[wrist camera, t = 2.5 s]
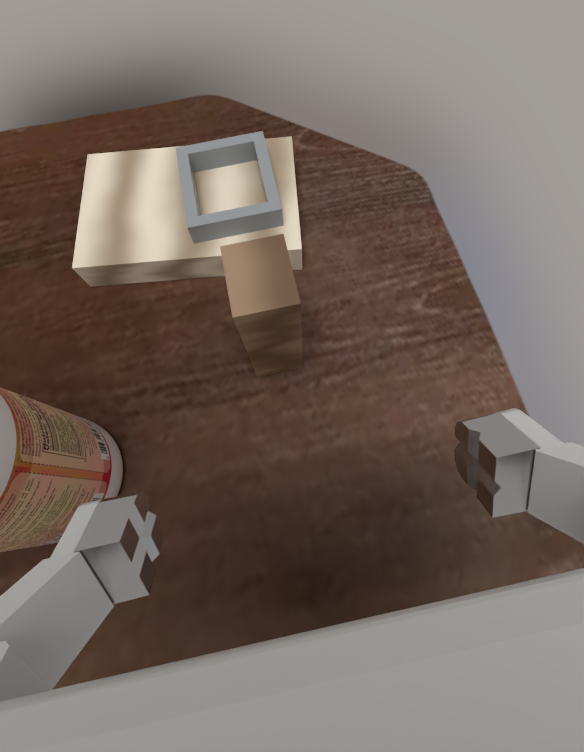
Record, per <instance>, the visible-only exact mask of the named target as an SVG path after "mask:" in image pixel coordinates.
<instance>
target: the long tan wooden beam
mask: <svg viewBox="0 0 584 752" xmlns="http://www.w3.org/2000/svg"><path fill="white" fill-rule="evenodd" d="M220 249H221V255H222V260H223V266H224V272H225V277H226V283H227V289H228V294H229V300H230V305H231V311H232V317H233V320H234V322H235V325H236V327H237V329H238V332H239V334H240V337H241V339H242V342H243V344H244V346H245V349H246V351H247V354H248V356H249V359H250V361H251V363H252V366H253V368H254V371H255V373H256V376H257V377H261V376H266V375H270V374H275V373H280V372H285V371H289V370H294V369H299V368H303V351H302V324H301V303H300V299H299V295H298V290H297V286H296V282H295V278H294V274H293V270H292V266H291V262H290V258H289V254H288V250H287V246H286V242H285V238H284V234H279V235H274V236H269V237H264V238H259V239H254V240H249V241H245V242H240V243H235V244H230V245H225V246H220Z"/></svg>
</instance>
